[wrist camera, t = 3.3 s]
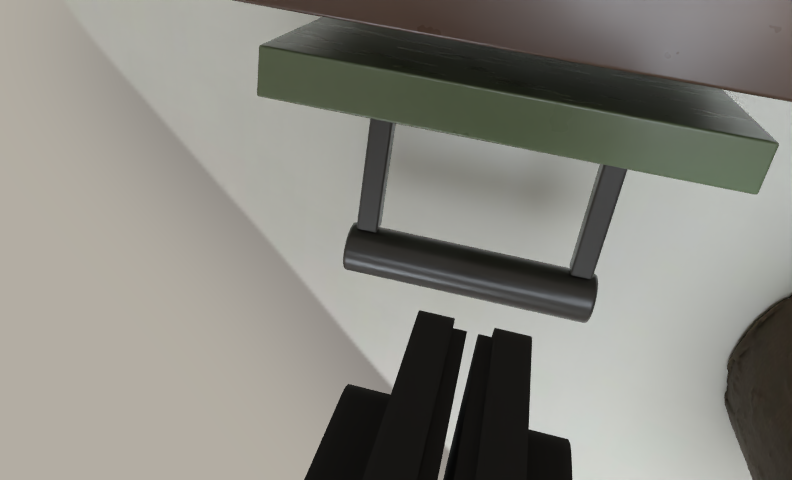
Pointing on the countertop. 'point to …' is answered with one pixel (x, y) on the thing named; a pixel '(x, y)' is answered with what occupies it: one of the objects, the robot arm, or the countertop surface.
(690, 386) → the countertop surface
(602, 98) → the bin drawer
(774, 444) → the pillar candle
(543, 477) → the robot arm
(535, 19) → the cabinet
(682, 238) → the countertop surface
